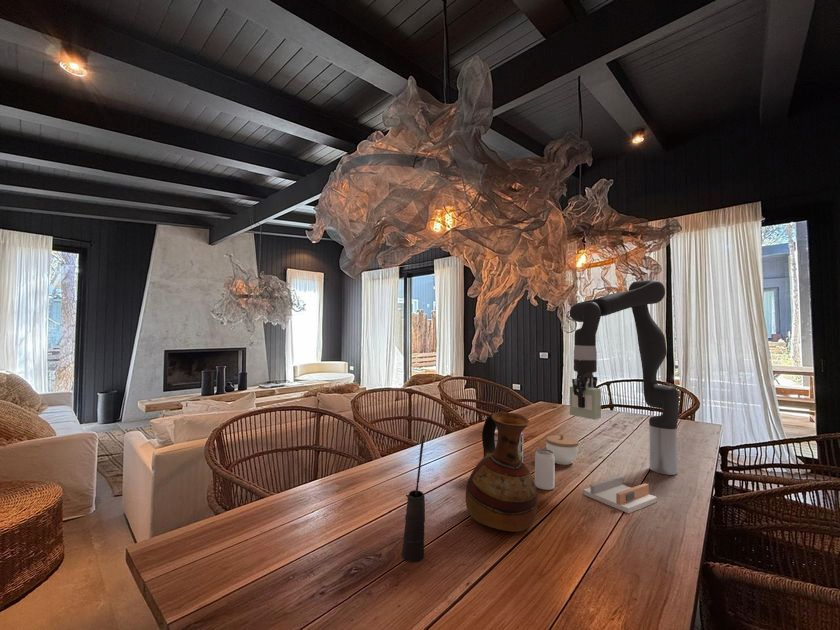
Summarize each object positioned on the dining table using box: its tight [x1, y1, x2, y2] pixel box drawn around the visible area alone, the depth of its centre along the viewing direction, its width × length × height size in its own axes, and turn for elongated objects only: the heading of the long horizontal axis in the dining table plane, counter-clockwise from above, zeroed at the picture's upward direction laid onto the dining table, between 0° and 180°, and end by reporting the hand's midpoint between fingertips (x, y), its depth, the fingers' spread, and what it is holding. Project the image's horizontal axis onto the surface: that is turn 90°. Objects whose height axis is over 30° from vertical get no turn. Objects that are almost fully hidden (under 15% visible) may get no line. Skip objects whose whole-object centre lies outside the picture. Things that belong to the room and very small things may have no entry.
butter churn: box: [400, 434, 426, 563], centre depth 88 cm, size 9×10×28 cm
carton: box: [569, 385, 602, 420], centre depth 134 cm, size 4×9×10 cm, turn 40°
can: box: [534, 448, 556, 491], centre depth 131 cm, size 6×6×12 cm
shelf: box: [582, 475, 658, 514], centre depth 123 cm, size 16×15×4 cm
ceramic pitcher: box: [465, 411, 538, 533], centre depth 107 cm, size 20×20×30 cm
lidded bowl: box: [545, 433, 579, 466], centre depth 157 cm, size 13×13×11 cm
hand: (585, 406), depth 134 cm, fingers closed on carton, 4 cm apart
